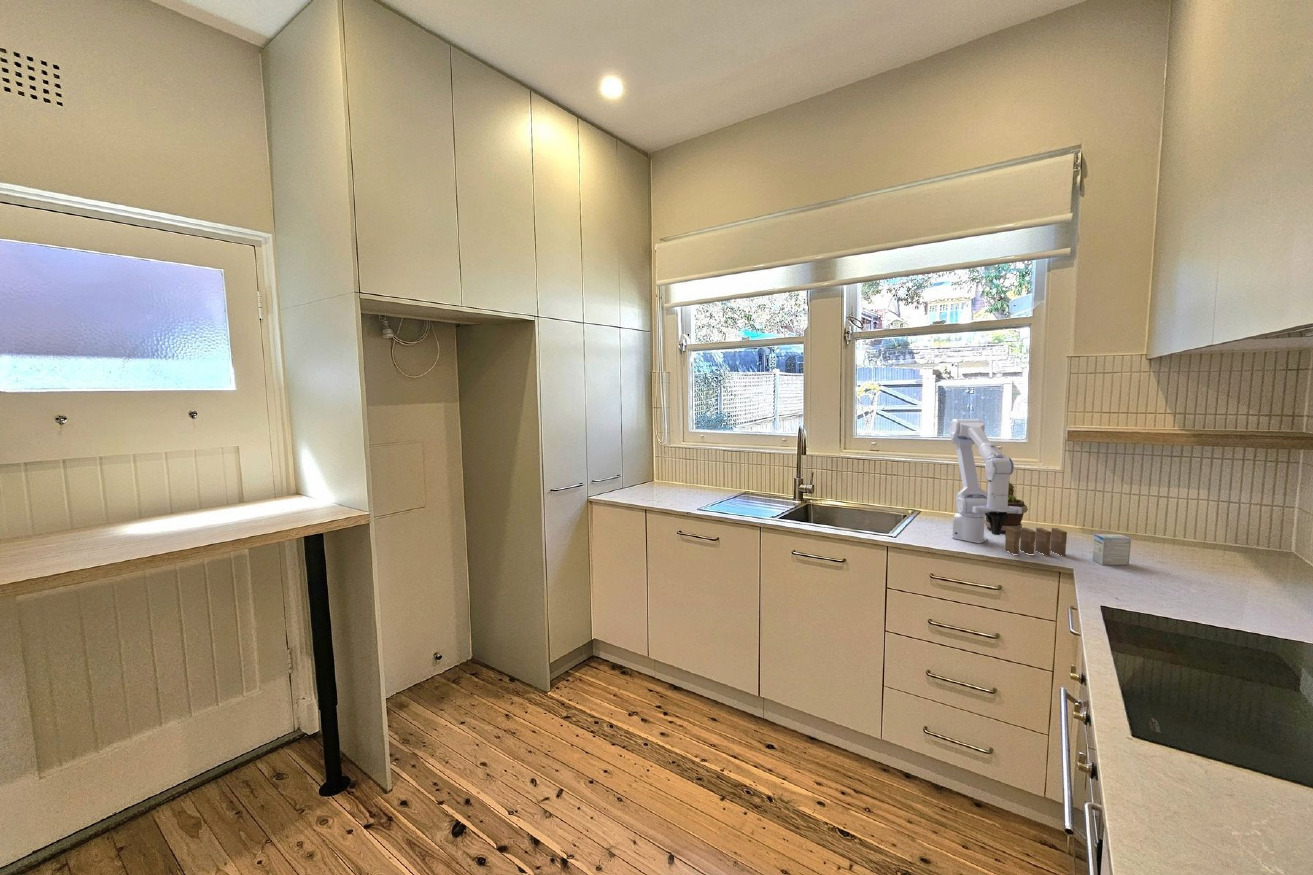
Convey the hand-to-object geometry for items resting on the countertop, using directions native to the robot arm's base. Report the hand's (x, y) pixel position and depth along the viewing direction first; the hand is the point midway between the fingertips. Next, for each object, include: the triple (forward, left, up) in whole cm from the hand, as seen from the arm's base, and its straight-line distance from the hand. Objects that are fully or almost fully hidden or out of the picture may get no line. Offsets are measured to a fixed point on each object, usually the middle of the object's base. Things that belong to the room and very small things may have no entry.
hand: (995, 534), depth 177 cm
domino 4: (+14, +14, -6) cm, 21 cm away
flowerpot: (-8, +33, -6) cm, 34 cm away
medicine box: (+27, +15, -6) cm, 32 cm away
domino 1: (+4, +4, -6) cm, 8 cm away
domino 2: (+7, +7, -6) cm, 12 cm away
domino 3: (+11, +11, -6) cm, 16 cm away
